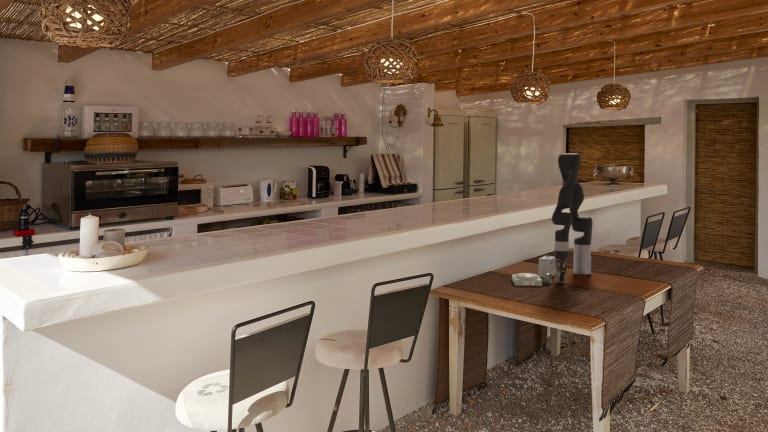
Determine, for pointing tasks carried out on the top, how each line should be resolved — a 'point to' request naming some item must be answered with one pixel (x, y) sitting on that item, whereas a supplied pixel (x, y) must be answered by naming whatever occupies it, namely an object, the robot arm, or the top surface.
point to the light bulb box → (547, 265)
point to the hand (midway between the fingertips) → (560, 280)
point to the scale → (526, 279)
